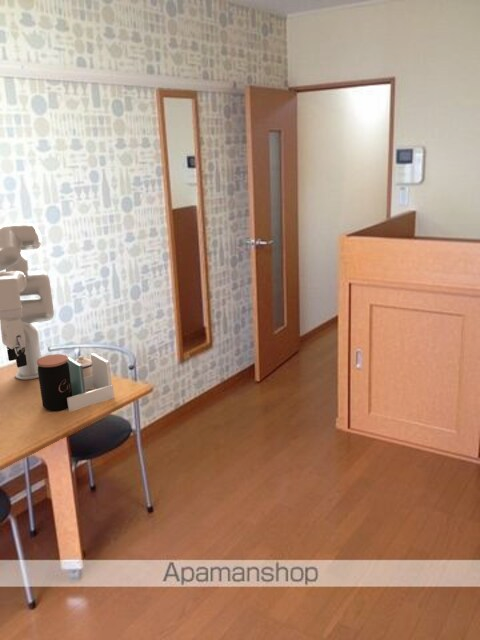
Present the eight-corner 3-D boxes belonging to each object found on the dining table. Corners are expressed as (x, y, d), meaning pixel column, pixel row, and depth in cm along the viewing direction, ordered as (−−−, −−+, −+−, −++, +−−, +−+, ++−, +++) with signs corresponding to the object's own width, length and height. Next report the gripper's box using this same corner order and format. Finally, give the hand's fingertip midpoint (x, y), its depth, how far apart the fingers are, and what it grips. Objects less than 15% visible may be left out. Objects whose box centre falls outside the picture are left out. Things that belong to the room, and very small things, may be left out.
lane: (53, 398, 223) (48, 363, 219) (96, 386, 233) (92, 352, 229) (69, 411, 211) (64, 374, 207) (114, 397, 222) (110, 362, 218)
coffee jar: (65, 413, 210) (58, 365, 205) (37, 411, 212) (30, 364, 207) (78, 400, 220) (73, 354, 215) (52, 399, 222) (46, 353, 217)
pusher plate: (69, 394, 225) (65, 357, 221) (73, 393, 226) (68, 356, 221) (83, 404, 216) (78, 365, 212) (86, 403, 217) (82, 365, 212)
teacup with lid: (98, 386, 233) (95, 358, 230) (74, 390, 229) (71, 362, 226) (91, 375, 243) (88, 348, 240) (68, 380, 240) (65, 352, 236)
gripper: (-10, 310, 203) (-2, 359, 208) (7, 321, 190) (15, 372, 195) (12, 306, 207) (19, 354, 212) (31, 316, 194) (38, 367, 199)
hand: (17, 362), depth 204 cm, fingers open, 7 cm apart
